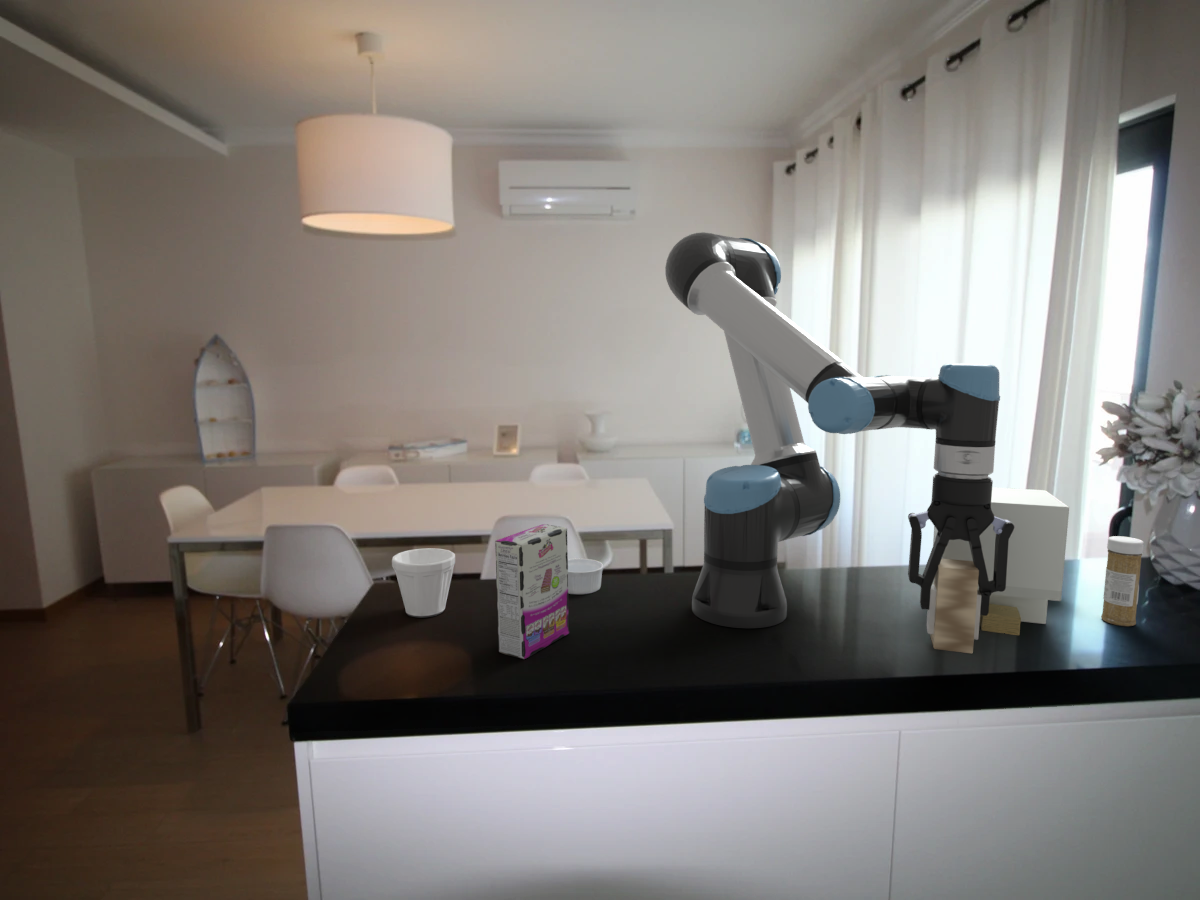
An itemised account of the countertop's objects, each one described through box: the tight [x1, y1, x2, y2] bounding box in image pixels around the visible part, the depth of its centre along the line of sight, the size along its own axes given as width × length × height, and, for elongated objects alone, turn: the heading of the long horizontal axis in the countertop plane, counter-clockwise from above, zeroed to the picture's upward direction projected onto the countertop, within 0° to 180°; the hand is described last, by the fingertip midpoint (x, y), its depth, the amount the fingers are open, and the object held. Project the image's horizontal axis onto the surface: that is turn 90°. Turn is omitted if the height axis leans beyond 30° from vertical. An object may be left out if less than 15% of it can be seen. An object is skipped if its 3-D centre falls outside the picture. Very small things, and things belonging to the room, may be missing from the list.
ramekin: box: [568, 557, 604, 595], centre depth 130 cm, size 9×9×4 cm
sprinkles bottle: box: [1100, 535, 1145, 627], centre depth 113 cm, size 5×5×14 cm
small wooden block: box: [979, 604, 1022, 636], centre depth 112 cm, size 5×5×3 cm
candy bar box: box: [494, 523, 570, 660], centre depth 104 cm, size 11×5×16 cm, turn 148°
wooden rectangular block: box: [929, 559, 979, 654], centre depth 109 cm, size 5×15×12 cm, turn 161°
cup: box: [391, 547, 456, 619], centre depth 117 cm, size 10×10×9 cm
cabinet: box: [932, 486, 1070, 625], centre depth 114 cm, size 16×14×20 cm
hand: (951, 632), depth 105 cm, fingers closed on wooden rectangular block, 5 cm apart
